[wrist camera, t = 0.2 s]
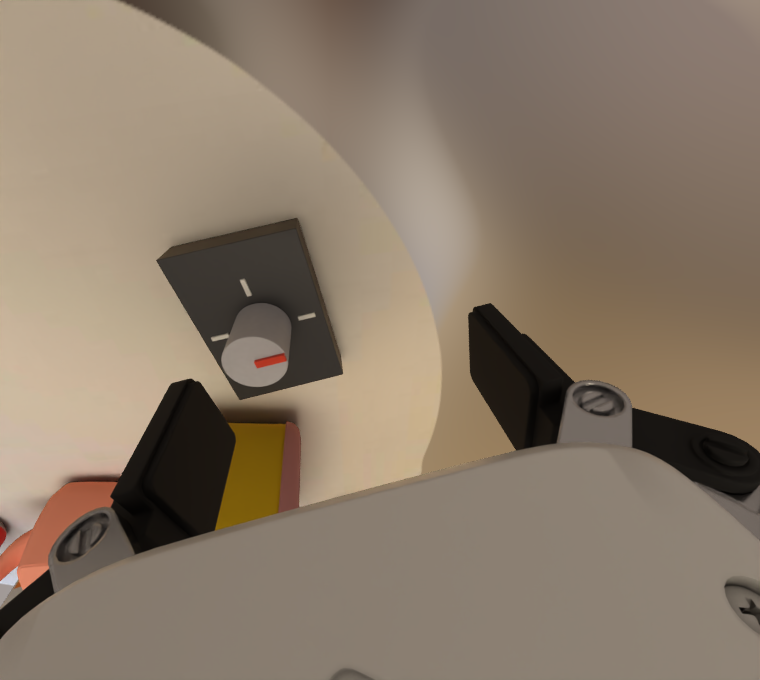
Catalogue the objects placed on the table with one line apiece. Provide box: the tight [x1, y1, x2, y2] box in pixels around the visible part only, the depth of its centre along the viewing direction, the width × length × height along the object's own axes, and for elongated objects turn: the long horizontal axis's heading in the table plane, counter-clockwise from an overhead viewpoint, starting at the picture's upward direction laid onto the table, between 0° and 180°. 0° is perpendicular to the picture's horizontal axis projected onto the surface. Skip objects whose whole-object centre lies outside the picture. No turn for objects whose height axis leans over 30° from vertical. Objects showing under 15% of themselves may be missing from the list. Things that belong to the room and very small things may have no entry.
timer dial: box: [221, 303, 291, 387], centre depth 25 cm, size 4×4×5 cm
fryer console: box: [156, 218, 343, 400], centre depth 28 cm, size 14×10×3 cm
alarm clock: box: [215, 421, 301, 531], centre depth 31 cm, size 18×11×19 cm, turn 168°
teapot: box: [0, 482, 117, 590], centre depth 36 cm, size 12×18×10 cm, turn 74°
